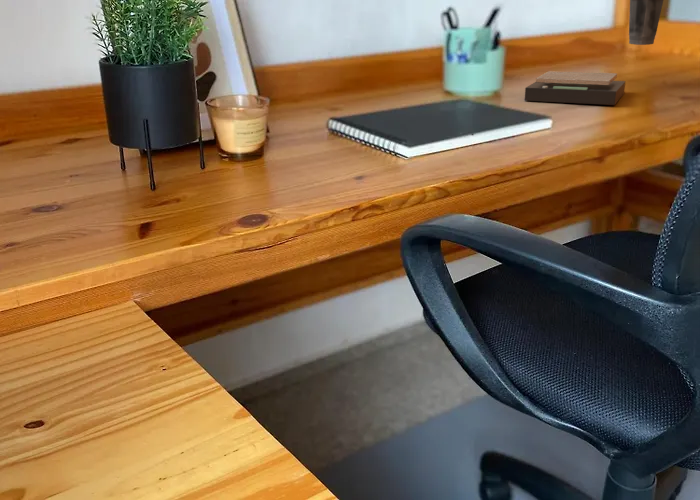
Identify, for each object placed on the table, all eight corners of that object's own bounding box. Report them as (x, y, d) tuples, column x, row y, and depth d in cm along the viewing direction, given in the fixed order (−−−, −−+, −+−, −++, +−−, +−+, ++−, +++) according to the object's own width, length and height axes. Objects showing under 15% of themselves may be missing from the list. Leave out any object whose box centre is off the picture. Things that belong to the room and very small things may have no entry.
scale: (624, 93, 138) (625, 79, 137) (614, 105, 127) (616, 89, 126) (540, 90, 145) (541, 76, 144) (524, 100, 133) (525, 85, 132)
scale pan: (616, 77, 136) (617, 73, 136) (608, 85, 127) (609, 80, 127) (548, 75, 142) (548, 71, 142) (535, 82, 133) (535, 78, 132)
